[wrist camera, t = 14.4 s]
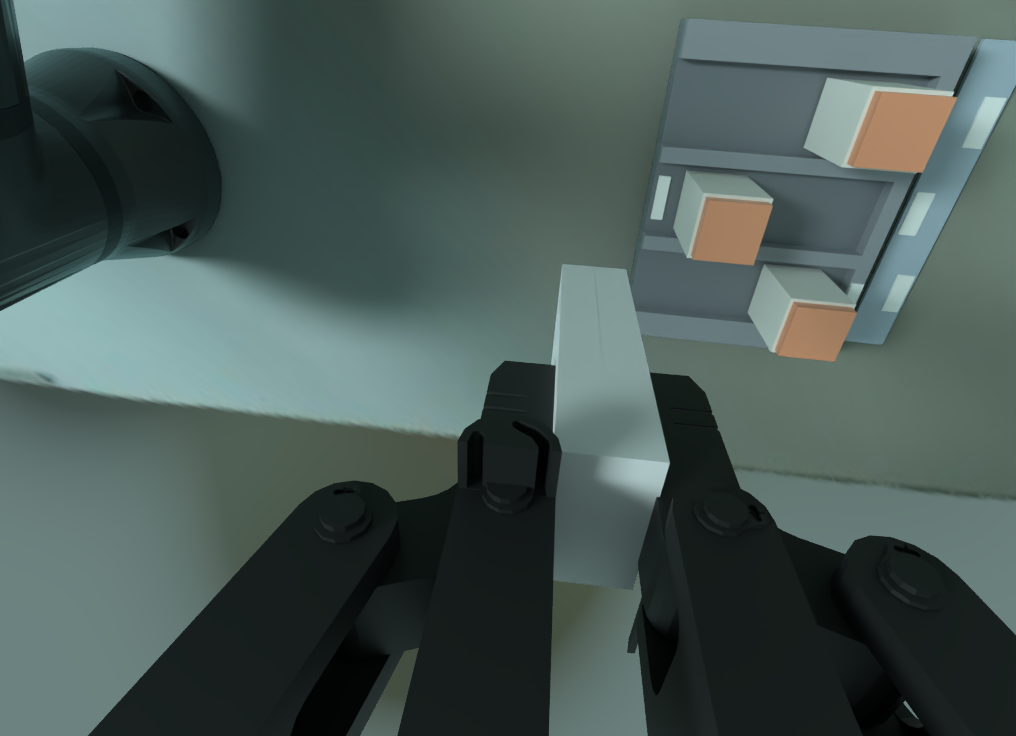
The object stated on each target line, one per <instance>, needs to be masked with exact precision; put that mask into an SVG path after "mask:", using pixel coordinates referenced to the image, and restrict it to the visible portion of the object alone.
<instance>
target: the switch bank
mask: <svg viewBox="0 0 1016 736" xmlns="http://www.w3.org/2000/svg"><path fill="white" fill-rule="evenodd" d="M977 38H978V37H969V36H953V35H938V34H922V33H906V32H891V31H875V30H860V29H844V28H829V27H813V26H797V25H782V24H766V23H751V22H735V21H720V20H704V19H681V21H680V27H679V32H678V37H677V42H676V47H675V52H674V57H673V62H672V67H671V72H670V78H669V83H668V88H667V93H666V98H665V103H664V108H663V113H662V118H661V124H660V129H659V134H658V139H657V144H656V149H655V154H654V159H653V164H652V169H651V175H650V180H649V185H648V190H647V195H646V200H645V205H644V210H643V215H642V220H641V226H640V231H639V236H638V241H637V246H636V251H635V256H634V261H633V266H632V272H631V277H630V282H629V285H630V289H631V293H632V298H633V302H634V307H635V311H636V315H637V320H638V324H639V329H640V333H641V335H647V336H657V337H666V338H675V339H685V340H694V341H704V342H713V343H723V344H732V345H741V346H751V347H760V348H768V346H767V345H766V343H765V341H764V340H763V338H762V336H761V334H760V333H759V331H758V329H757V328H756V326H755V324H754V323H753V321H752V319H751V318H750V316H749V314H748V310H749V307H750V304H751V301H752V298H753V295H754V292H755V289H756V286H757V283H758V280H759V277H760V274H761V271H762V268H763V265H764V264H773V265H783V266H794V267H804V268H814V269H821V270H822V271H823V272H824V273H825V274H826V275H827V276H828V277H829V278H830V279H831V280H832V281H833V282H834V283H835V284H836V285H837V286H838V287H839V288H840V289H841V290H842V291H843V292H844V293H845V294H846V295H847V296H848V297H849V298H850V299H851V300H852V301H853V302H854V303H855V304H856V302H857V300H858V298H859V296H860V293H861V291H862V289H863V287H864V284H865V282H866V280H867V278H868V275H869V273H870V271H871V269H872V267H873V265H874V262H875V260H876V258H877V256H878V254H879V251H880V249H881V247H882V245H883V243H884V241H885V238H886V236H887V234H888V232H889V230H890V228H891V225H892V223H893V221H894V219H895V217H896V214H897V212H898V210H899V208H900V206H901V204H902V201H903V199H904V197H905V195H906V193H907V190H908V188H909V186H910V184H911V182H912V180H913V177H914V175H915V173H905V172H893V171H880V170H868V169H856V168H844V167H840V166H838V165H836V164H834V163H832V162H830V161H828V160H826V159H825V158H823V157H821V156H819V155H817V154H815V153H813V152H811V151H809V150H807V149H805V148H803V147H804V145H805V142H806V139H807V136H808V133H809V130H810V127H811V124H812V121H813V118H814V115H815V112H816V109H817V106H818V103H819V100H820V97H821V94H822V91H823V89H824V86H825V83H826V80H827V78H840V79H854V80H868V81H882V82H896V83H902V84H908V85H915V86H921V87H927V88H933V89H940V90H946V91H952V92H953V90H954V88H955V86H956V84H957V82H958V79H959V77H960V75H961V73H962V71H963V68H964V66H965V64H966V62H967V60H968V58H969V55H970V53H971V51H972V49H973V47H974V44H975V42H976V40H977ZM686 170H689V171H701V172H712V173H724V174H736V175H747V176H748V177H749V178H750V179H751V180H752V181H754V182H755V183H756V184H757V185H758V186H759V187H760V188H762V189H763V190H764V191H765V192H766V193H767V194H768V195H770V196H771V197H772V198H773V202H772V205H773V207H772V210H771V213H770V216H769V219H768V222H767V226H766V229H765V232H764V235H763V238H762V241H761V244H760V247H759V250H758V253H757V256H756V259H755V262H754V265H743V264H733V263H722V262H712V261H702V260H693V258H687V257H686V255H685V253H684V250H683V248H682V246H681V244H680V242H679V240H678V238H677V235H676V233H675V231H674V229H673V226H674V222H675V218H676V213H677V209H678V205H679V200H680V196H681V192H682V187H683V183H684V179H685V174H686Z"/></svg>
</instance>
